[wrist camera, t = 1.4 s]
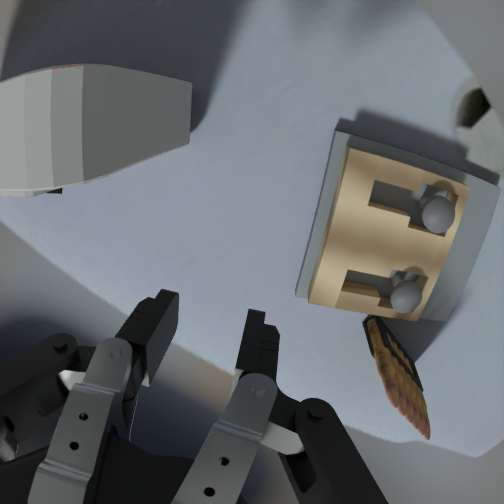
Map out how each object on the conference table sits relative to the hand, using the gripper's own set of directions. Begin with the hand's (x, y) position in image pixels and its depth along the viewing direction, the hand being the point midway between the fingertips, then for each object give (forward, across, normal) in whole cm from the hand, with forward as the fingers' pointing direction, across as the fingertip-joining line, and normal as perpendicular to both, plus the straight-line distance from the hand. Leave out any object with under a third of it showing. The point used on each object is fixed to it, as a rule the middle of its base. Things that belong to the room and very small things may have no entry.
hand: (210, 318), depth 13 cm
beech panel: (+16, -12, 0) cm, 20 cm away
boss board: (+17, -14, 0) cm, 22 cm away
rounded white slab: (+17, +20, -6) cm, 28 cm away
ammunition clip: (+17, -18, +13) cm, 29 cm away
